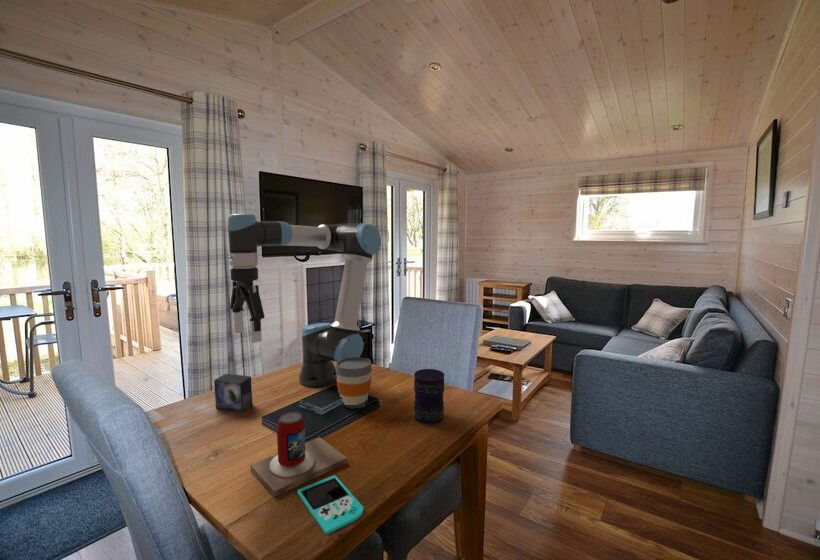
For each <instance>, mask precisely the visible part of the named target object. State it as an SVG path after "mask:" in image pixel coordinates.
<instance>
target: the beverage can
mask: <svg viewBox="0 0 820 560" xmlns="http://www.w3.org/2000/svg"><path fill="white" fill-rule="evenodd" d="M305 424H306V423H305V419H304V418H303V416H302V413H300V412H297V411H292V412H291V411H290V412H289V411H288V412H286V413H283V414H281V415H280V416H279V419H278V421H277V423H276V439H277V441H276V443H277V454H278V462H279V463H280V464H281V465H283V466H286V467H293V466H296V465H298V464H300V463H301V462H302V461H304V459H305V443H306V429H305V427H306V426H305Z"/></svg>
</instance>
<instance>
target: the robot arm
mask: <svg viewBox="0 0 820 560" xmlns="http://www.w3.org/2000/svg"><path fill="white" fill-rule="evenodd" d="M256 218H257V217H256V215H255V214H251V213H250V214H247V213H231V214H229V216H228V221H227V232H228V234H227V235H228V245H229V246H228V248H229V256H228V257H227V258H228V260H229V265H230V267H231V268H230V280H231V281H232V290H231V298H230V304H229V305H230V306H229V308H230V310H231V311H232V316H233V330H234V331H233V333H234V334H235V335H236V334H240V333H245V326H244V325H245V324H244V322H245V321H244V311H245V310H244V308H243V306H244V304H246V305H247V309H248V311H249V314H250V319H249V322H250V337H251V343H252V344H255V343H259V342H263V341H262V340H263V339H262V338H263V336H262V319H265V313H264V308H263V304H262V303H263V302H262V300H261V295H260V290H259V285H258V284H254V281H258V279H259V268H258V267H257V266H259V260H258V258H259V257H258V247H271V246H272V247H274V246H275V247H276V246H278V247H281V246H293V247H294V246H295V247H296V246H297V247H299V246H300V247H317V248H318V249H320V250H330V251H335V252H341V253H342V257H343V258H344V268H343V271H342V277H341V282H340V288H339V289H340V290H339V293H338V299H337V305H336V310H335V311H336V312H335V316H334V321H333V322H320V323H319V322H318V323H312V324H308V325H305V326H304V327H303V328H302V330H301V331H302V333H301V343H302V346H301V347H302V365H301V367H300V372H299V375H298V382H299V384H300V385H301V386H305V387H309V388H310V387H312V388H313V387H315V388H317V387H325V386H328V385H333V383H335V382H337V373H336V365H335V364H334V362H336V363H337V362H338V361H339V360H342V359H345V358H351V357H360V358H361V355H362V353H363V349H364V346H365V345H364V341H363V337H362V336H361V335H360V331H361V329H360V327H359V326H358V320H359V313H360V308H361V301H362V297H363V290H364V284H365V279H366V274H367V268H368V264H369V263H370V262H372V261H373V256H374V255H375V254H378V252H379V251H380V250H381V246H382V237H381V234H380V232H379V230H378V229H377V227H376V226H375V225H373V224H371V223H364V222H361V223H335V224H320V225H318V226H311V225H297V224H289V223H288V222H286V221H276V220H275V221H266V220H265V221H258V220H257V219H256ZM245 302H246V303H245Z"/></svg>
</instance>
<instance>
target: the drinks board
mask: <svg viewBox="0 0 820 560" xmlns="http://www.w3.org/2000/svg"><path fill="white" fill-rule="evenodd" d="M347 463H348V457H347V456H346V455H345V454H343V453H341V452H340V451H339V450H338V449H336V448H335V447H333V446H332V445H331V444H330V443H328V442H327V441H325V440H324V439H323V438H322V437H320V436H319V437H317V438H315V439H314V438H313V439H311V440H309V441H305V459H304V461H302V462H301V463H300V464H298V465H296V466H293V467H286V466H283V465H281V464H280V463H279V462H278V453H276V454H274V455H271V456H268V457H266V458H264V459H262V460H258V461H256V462H254V463H251V464H250V471H251V473H252V474H253V475H255V477H256V478H257V479H258V481H260V482H261V484H262V485H263V486H264V487H265V488H266V490H267V491H268V492H269V493H270V494H271V496H273V497H274V498H276V497H278V496H282V494H285V493H287V492H290V491H291V490H293V489H296V488H297V487H299V486H302V485H304V484H305V483H306V484H307V483H308V482H310V481H312V480H314V479H316V478H318V477H321V476H323V475H325V474H326V473H329V472H331V471H333V470H335V469H338V468H340V467H341V466H344V465H346V464H347Z"/></svg>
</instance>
